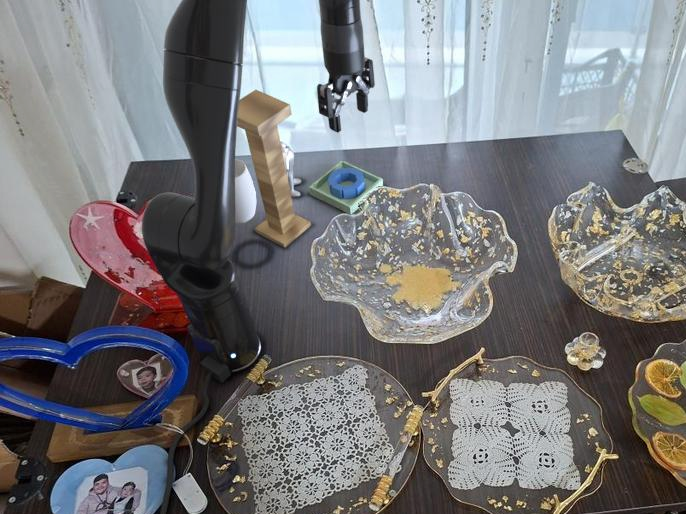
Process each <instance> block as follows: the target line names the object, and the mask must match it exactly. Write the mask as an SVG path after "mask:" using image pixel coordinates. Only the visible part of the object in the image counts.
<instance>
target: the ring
mask: <svg viewBox="0 0 686 514" xmlns="http://www.w3.org/2000/svg"><path fill="white" fill-rule="evenodd" d="M337 170H338V171H336V170H335V171H334V172H333V173H332V174H331V175H329V178H328V184H329V189H330V193H331V194H332V196H335V197H337V198H339V199H343V198H344V200H346V199H353V198H356V196H357V197H359V196H360V195H361V194H362V193H363V192H364V191H365V180H364V176H363V173H361V172H360V171H358V170H356V169H353V168H351V169H349V168H342V169H337ZM345 181H351V182H354V184H353V185H349V186H342V185H339V184H340V183H341V182H345Z"/></svg>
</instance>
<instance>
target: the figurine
mask: <svg viewBox="0 0 686 514" xmlns="http://www.w3.org/2000/svg"><path fill="white" fill-rule="evenodd" d="M280 143H281V148H282V153H283V158H284V163H285V168H286V173H287V178H288V183H289V188H290V193H291V198H299V197H300V196H301V192H300V191H298V190H296V189H295V188H294V187H295V186H297V185H300V184H302V179H301V178H297V177H295V170H294V166H295V152H294V150H293V149H292V148H291V147H290V146H289V145H287V143H285V142H283V141H280Z"/></svg>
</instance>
